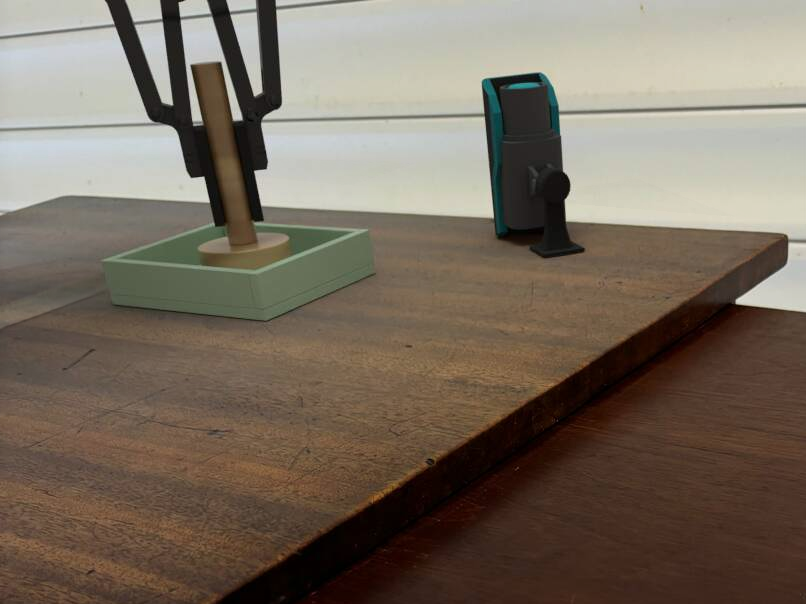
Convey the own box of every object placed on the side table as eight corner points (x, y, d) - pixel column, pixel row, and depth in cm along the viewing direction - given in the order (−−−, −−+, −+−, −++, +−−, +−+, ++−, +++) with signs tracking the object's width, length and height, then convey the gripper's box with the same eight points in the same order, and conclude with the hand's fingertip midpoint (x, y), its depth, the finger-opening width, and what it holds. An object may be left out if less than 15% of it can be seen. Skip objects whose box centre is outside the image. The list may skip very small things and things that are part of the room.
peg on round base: (187, 287, 91) (134, 70, 82) (247, 266, 96) (203, 58, 87) (255, 292, 88) (207, 67, 79) (314, 270, 93) (275, 56, 84)
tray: (112, 304, 91) (100, 260, 89) (229, 261, 101) (220, 220, 99) (266, 321, 85) (256, 273, 83) (375, 273, 94) (369, 229, 92)
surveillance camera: (519, 90, 88) (478, 79, 95) (532, 259, 95) (493, 236, 102) (588, 81, 89) (543, 71, 97) (596, 249, 96) (553, 227, 104)
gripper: (29, -166, 71) (135, 243, 85) (280, -181, 74) (344, 217, 88) (38, -158, 77) (136, 223, 91) (271, -172, 80) (332, 199, 94)
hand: (238, 219), depth 89 cm, fingers closed on peg on round base, 2 cm apart
